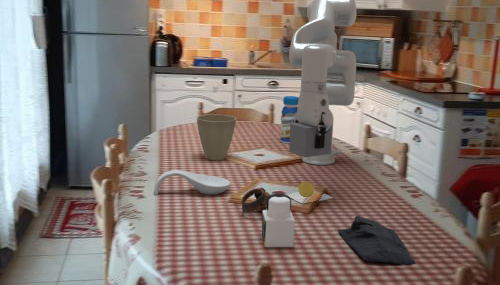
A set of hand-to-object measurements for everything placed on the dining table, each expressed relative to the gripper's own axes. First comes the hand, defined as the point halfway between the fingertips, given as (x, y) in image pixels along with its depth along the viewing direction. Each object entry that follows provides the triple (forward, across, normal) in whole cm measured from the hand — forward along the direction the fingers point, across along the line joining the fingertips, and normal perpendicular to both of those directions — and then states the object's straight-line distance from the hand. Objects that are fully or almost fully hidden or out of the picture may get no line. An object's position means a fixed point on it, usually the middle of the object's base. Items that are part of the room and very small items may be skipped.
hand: (310, 144), depth 171 cm
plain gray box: (+3, 0, 0) cm, 3 cm away
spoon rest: (+17, +21, +29) cm, 40 cm away
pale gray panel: (+17, 0, 0) cm, 17 cm away
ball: (+14, 0, +1) cm, 14 cm away
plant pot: (+17, +54, +2) cm, 57 cm away
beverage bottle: (+17, +64, -41) cm, 78 cm away
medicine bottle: (+17, -24, +29) cm, 41 cm away
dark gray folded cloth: (+17, -38, +9) cm, 43 cm away
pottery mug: (+17, -4, +21) cm, 27 cm away
